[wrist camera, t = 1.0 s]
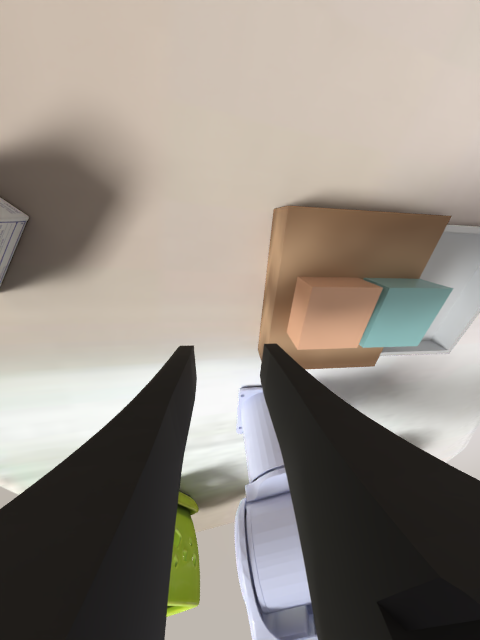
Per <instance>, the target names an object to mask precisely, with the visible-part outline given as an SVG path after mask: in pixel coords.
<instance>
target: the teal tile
mask: <svg viewBox="0 0 480 640" xmlns="http://www.w3.org/2000/svg"><path fill="white" fill-rule="evenodd" d="M363 280H365V281H368V282H370V283H373V284H375V285H378V286H380V287H383V289H382V292H381V294H380V296H379V299H378V301H377V303H376V305H375V308H374V310H373V312H372V315H371V317H370V319H369V322H368V324H367V326H366V329H365V331H364V333H363V336H362V338H361V340H360V343H359V345H360V346H361V347H363V348H372V347H404V346H418V345H419V343H420V342H421V340H422V338H423V337H424V335H425V334H426V332H427V330H428V329H429V327H430V326H431V324H432V322H433V321H434V319H435V317H436V316H437V314H438V313H439V311H440V309H441V308H442V306H443V305H444V303H445V301H446V300H447V298H448V297H449V295H450V293H451V292H452V290H453V289H454V288H450V287H447V286H443V285H440V284H436V283H433V282H429V281H426V280H422V279H407V278H364V279H363Z"/></svg>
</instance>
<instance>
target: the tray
mask: <svg viewBox="0 0 480 640" xmlns="http://www.w3.org/2000/svg"><path fill="white" fill-rule="evenodd" d="M419 279H422V280H426V281H429V282H433V283H436V284H440V285H443V286H447V287H450V288H454V289H453V290H452V292H451V293H450V295H449V297H448V298H447V300H446V301H445V303H444V305H443V306H442V308H441V309H440V311H439V313H438V314H437V316H436V317H435V319H434V321H433V322H432V324H431V326H430V327H429V329H428V330H427V332H426V334H425V335H424V337H423V338H422V340H421V342H420V343H419V345H418V346H404V347H384V348H383V350H382V352H381V354H380V356H397V355H424V354H449V353H450V352H451V351H452V349H453V348H454V347H455V345H456V344H457V342H458V341H459V340H460V338H461V337H462V336H463V334H464V333H465V332H466V330H467V329H468V328H469V326H470V325H471V324H472V322H473V321H474V319H475V318H476V317H477V315H478V314H479V313H480V226H462V225H447V226H446V228H445V230H444V232H443V234H442V236H441V238H440V239H439V241H438V243H437V245H436V247H435V249H434V251H433V253H432V255H431V257H430V259H429V261H428V263H427V265H426V267H425V269H424V271H423V272H422V274H421V276H420V278H419Z"/></svg>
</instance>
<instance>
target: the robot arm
mask: <svg viewBox="0 0 480 640" xmlns="http://www.w3.org/2000/svg"><path fill="white" fill-rule="evenodd" d="M260 378H261V384H262V387H254V388H241V389H240V390H239V395H238V412H237V429H236V431H237V433H238V434H241V433H243V434H244V443H245V451H246V459H247V468H248V476H249V484H247V485H245V490H246V498H243V499H241V501H240V504H239V507H238V509H237V512H236V517H235V552H236V562H237V570H238V577H239V582H240V587H241V591H242V595H243V598H244V601H245V603H246V608H247V613H248V618H249V623H250V629H251V635H252V640H480V481H479V480H477V479H476V478H473V477H471V476H470V475H468V474H466V473H464V472H462V471H460V470H458V469H456V468H454V467H452V466H450V465H448V464H447V463H445V462H443V461H441V460H440V459H438V458H436V457H434V456H432V455H431V454H429V453H427V452H425V451H423V450H421V449H420V448H418V447H416V446H414V445H413V444H411V443H409V442H408V441H406V440H404V439H402V438H401V437H399V436H397V435H396V434H394V433H392V432H391V431H389V430H388V429H386V428H384V427H383V426H381V425H380V424H378V423H376V422H375V421H373V420H372V419H370V418H369V417H367V416H365V415H364V414H362V413H361V412H359V411H358V410H357V409H355V408H354V407H352V406H351V405H349V404H348V403H347V402H345V401H344V400H342V399H341V398H340V397H338V396H337V395H336V394H334V393H333V392H332V391H330V390H329V389H328V388H327V387H325V386H324V385H323V384H321V383H320V382H319V381H318V380H317V379H315V378H314V377H313V376H312V375H311V374H309V373H308V372H307V371H306V370H305V369H304V368H303V367H301V366H300V365H299V364H298V363H297V362H296V361H295V360H294V359H293V358H292V357H291V356H290V355H288V354H287V353H286V352H285V351H284V350H283V349H282V348H281V347H280V346H279V345H278V344H277V343H273V344H264V348H263V356H262V364H261V371H260ZM196 380H197V377H196V366H195V355H194V346H179V347H178V348H177V350H176V351H175V352H174V353H173V355H172V356H171V357H170V359H169V360H168V361H167V362H166V363H165V365H164V366H163V367H162V368H161V369H160V371H159V372H158V373H157V374H156V375H155V376H154V378H153V379H152V380H151V381H150V382H149V383H148V384H147V385H146V386H145V387H144V388H143V389H142V390H141V392H140V393H139V394H138V395H137V396H136V397H135V398H134V399H133V400H132V401H131V402H130V403H129V404H128V405H127V406H126V407H125V408H124V409H123V410H122V411H121V412H120V413H118V414H117V415H116V416H115V417H114V418H113V419H112V420H111V421H110V422H109V423H108V424H107V425H105V426H104V427H103V428H102V429H101V430H100V431H99V432H97V433H96V434H95V435H94V436H93V437H92V438H90V439H89V440H88V441H87V442H86V443H85V444H83V445H82V446H81V447H80V448H79V449H77V450H76V451H75V452H74V453H72V454H71V455H70V456H69V457H68V458H66V459H65V460H64V461H63V462H61V463H60V464H59V465H58V466H56V467H55V468H54V469H53V470H51V471H50V472H49V473H47V474H46V475H45V476H43V477H42V478H41V479H40V480H38V481H37V482H36V483H34V484H33V485H32V486H30V487H29V488H28V489H26V490H25V491H24V492H23V493H21V494H20V495H19V496H17V497H16V498H15V499H14V500H12V501H11V502H9V503H8V504H7V505H5V506H4V507H3V508H1V509H0V640H164V637H165V626H166V615H167V605H168V594H169V583H170V573H171V563H172V553H173V543H174V533H175V524H176V515H177V505H178V496H179V488H180V479H181V471H182V463H183V457H184V451H185V446H186V441H187V436H188V431H189V426H190V421H191V416H192V411H193V406H194V401H195V392H196ZM242 394H243V395H242Z"/></svg>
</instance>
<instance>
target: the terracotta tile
mask: <svg viewBox="0 0 480 640" xmlns="http://www.w3.org/2000/svg"><path fill="white" fill-rule="evenodd" d="M382 289H383V287H380V286H378V285H375V284H373V283H370V282H368V281H365V280H363V279H360V278H348V277H297V282H296V287H295V292H294V298H293V303H292V308H291V313H290V318H289V323H288V328H287V334H288V335H289V337H290V339H291V340H292V342H293V343H294V345H295V347H296V348H297V350H307V349H340V348H357V347H358V345H359V343H360V340H361V338H362V336H363V333H364V331H365V329H366V326H367V324H368V322H369V319H370V317H371V315H372V312H373V310H374V308H375V305H376V303H377V301H378V299H379V296H380V294H381V292H382Z"/></svg>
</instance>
